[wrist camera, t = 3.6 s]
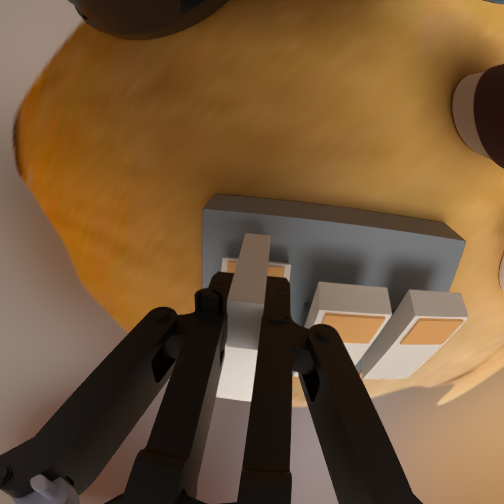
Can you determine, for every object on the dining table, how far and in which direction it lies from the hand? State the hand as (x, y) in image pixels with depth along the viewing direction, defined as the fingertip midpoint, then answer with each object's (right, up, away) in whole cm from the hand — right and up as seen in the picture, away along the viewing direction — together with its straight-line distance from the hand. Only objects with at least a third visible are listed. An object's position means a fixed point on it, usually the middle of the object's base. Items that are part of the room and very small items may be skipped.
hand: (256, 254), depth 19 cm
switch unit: (+6, -3, +8) cm, 11 cm away
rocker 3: (+11, -7, +1) cm, 13 cm away
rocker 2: (+6, -5, +2) cm, 8 cm away
